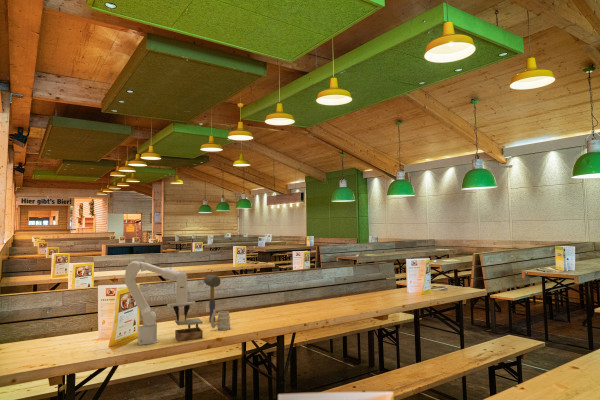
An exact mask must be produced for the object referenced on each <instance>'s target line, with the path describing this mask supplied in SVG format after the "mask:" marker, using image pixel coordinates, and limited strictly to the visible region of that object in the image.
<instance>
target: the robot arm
mask: <svg viewBox="0 0 600 400" xmlns="http://www.w3.org/2000/svg"><path fill="white" fill-rule="evenodd" d="M144 271H146V272H147V271H148V272H152V273H155V274H159V275H161V276H162V278H164V279H166V280H170V281H173V282H175V281H176V287H175V289H176V291H175V302H171V303H167V304H166V305H167V306H166V307H167V308H168V309H170V308H173V310H174V312H175V316H176V320H177V321H179V314H180V308H181V307H183V314H184V315H185V320H186V319H187V316H188V313H189V311H190V308H191V307H190V306H196V301H193V300H192V301H188V274H187V273H186V272H184V271H181V270H180V269H178V270H176V269H173V268H172V267H170V266H169V267H165V268H162V267H159V266H156V265H154V264H151V263H148V262H143V261H140V260H132V261H131V262H130V263H128V265H127V266H126V268H125V273H124V274H125V275H124V280H123V281H124V284H125V286H126V288H127V289H128V291H129V293H130V295H131V297H132V299H133V300H134V302H135V304H136V306H137V309H138V310H139V312H140V315H141V317H142V322H143V323H142V324H141V325H139V326H138V328H137V330H138V331H137V344H138V346H143V345H150V344H156V343H157V344H158V343H159V340H158V323H157V313H156V312H155V311H154V310H153V309H152V307H150V305H149V303H148V302H147V300H146V298H145V296H144V294H143V292H142V291H141V289H140V287H139V285H138V284H137V282H136V278H137V274H138V273H139V272H144ZM179 307H180V308H179Z"/></svg>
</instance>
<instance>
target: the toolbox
mask: <svg viewBox="0 0 600 400" xmlns="http://www.w3.org/2000/svg"><path fill="white" fill-rule="evenodd" d="M174 335H175V336H174V337H175V339H176V341H177V342H178V343H180V342H186V341H187V342H188V341H195V340H202V338H203V335H204V334H203V330H202V329H201V327H199V324H195V327H191V324H190V325H188V326H187V328H180V329H175V331H174Z"/></svg>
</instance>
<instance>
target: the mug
mask: <svg viewBox="0 0 600 400" xmlns="http://www.w3.org/2000/svg"><path fill="white" fill-rule="evenodd" d="M217 316H218V317H217ZM216 317H217V322H215V321H214V318H215V319H216ZM230 318H231V316H230V311H227V310H226V311H225V310H223V311H222V310H221V311H218V313H217V311H216V309H215V310H213V314H212V317H211V320H210V321H211V322H210V321H209V322H210V326H211V328H212V329H215V328H216V327H217V330H218V331H228V330H230V329H231V324H230V323H231V322H230V320H231V319H230Z"/></svg>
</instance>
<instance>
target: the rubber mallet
mask: <svg viewBox="0 0 600 400" xmlns="http://www.w3.org/2000/svg"><path fill="white" fill-rule="evenodd" d="M204 284H205V285H206V286H208V287H209V289H210V291H209V292H210V294H209V297H210V298H209V302H208V303H209V305H208V308H209V318H208V320H209V323H211V321H210V320H211V317H212V314H213V310H215V311H216V299H215V288H217V287H218V286H220V285H221V278H220V277H219V276H217V275H216V274H215V275H214V274H207V275H206V276H205V277H204ZM215 321H216V317H215V318H214V322H215Z"/></svg>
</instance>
